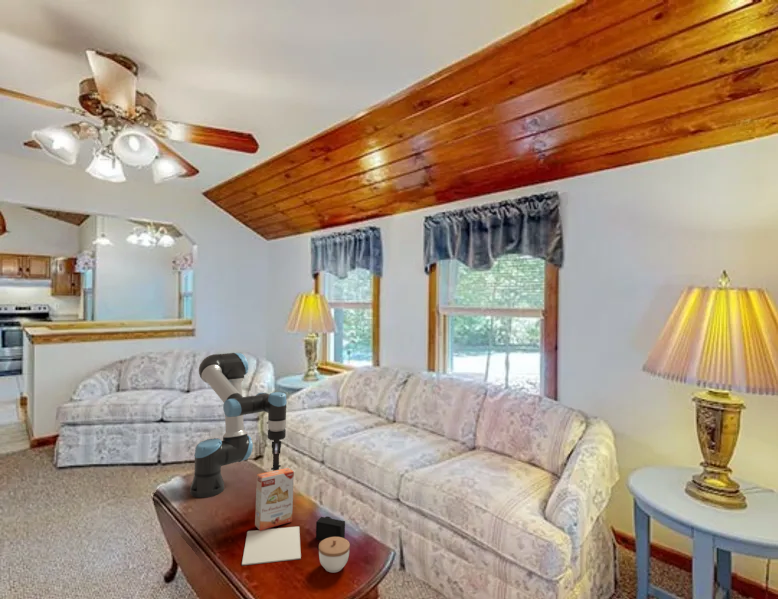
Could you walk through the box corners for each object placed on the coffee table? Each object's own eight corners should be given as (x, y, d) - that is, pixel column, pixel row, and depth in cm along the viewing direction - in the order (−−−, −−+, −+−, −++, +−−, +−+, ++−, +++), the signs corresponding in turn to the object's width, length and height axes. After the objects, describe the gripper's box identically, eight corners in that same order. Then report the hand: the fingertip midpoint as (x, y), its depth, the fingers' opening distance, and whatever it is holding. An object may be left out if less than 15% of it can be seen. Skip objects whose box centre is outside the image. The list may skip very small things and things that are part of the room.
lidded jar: (319, 558, 155) (320, 532, 155) (349, 557, 156) (350, 531, 156) (316, 577, 144) (317, 549, 144) (349, 576, 145) (349, 548, 145)
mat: (247, 532, 171) (247, 531, 171) (299, 527, 176) (299, 526, 176) (241, 565, 150) (241, 564, 150) (300, 558, 154) (300, 557, 154)
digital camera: (346, 537, 169) (346, 519, 169) (340, 544, 164) (341, 526, 164) (322, 532, 172) (322, 514, 172) (315, 539, 167) (316, 521, 167)
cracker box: (260, 531, 170) (261, 477, 171) (254, 526, 175) (255, 473, 176) (293, 522, 179) (294, 470, 180) (286, 516, 184) (288, 466, 185)
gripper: (268, 425, 193) (267, 478, 193) (267, 433, 181) (265, 490, 180) (285, 424, 195) (284, 476, 195) (285, 433, 182) (284, 489, 182)
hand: (275, 483), depth 188 cm, fingers closed
